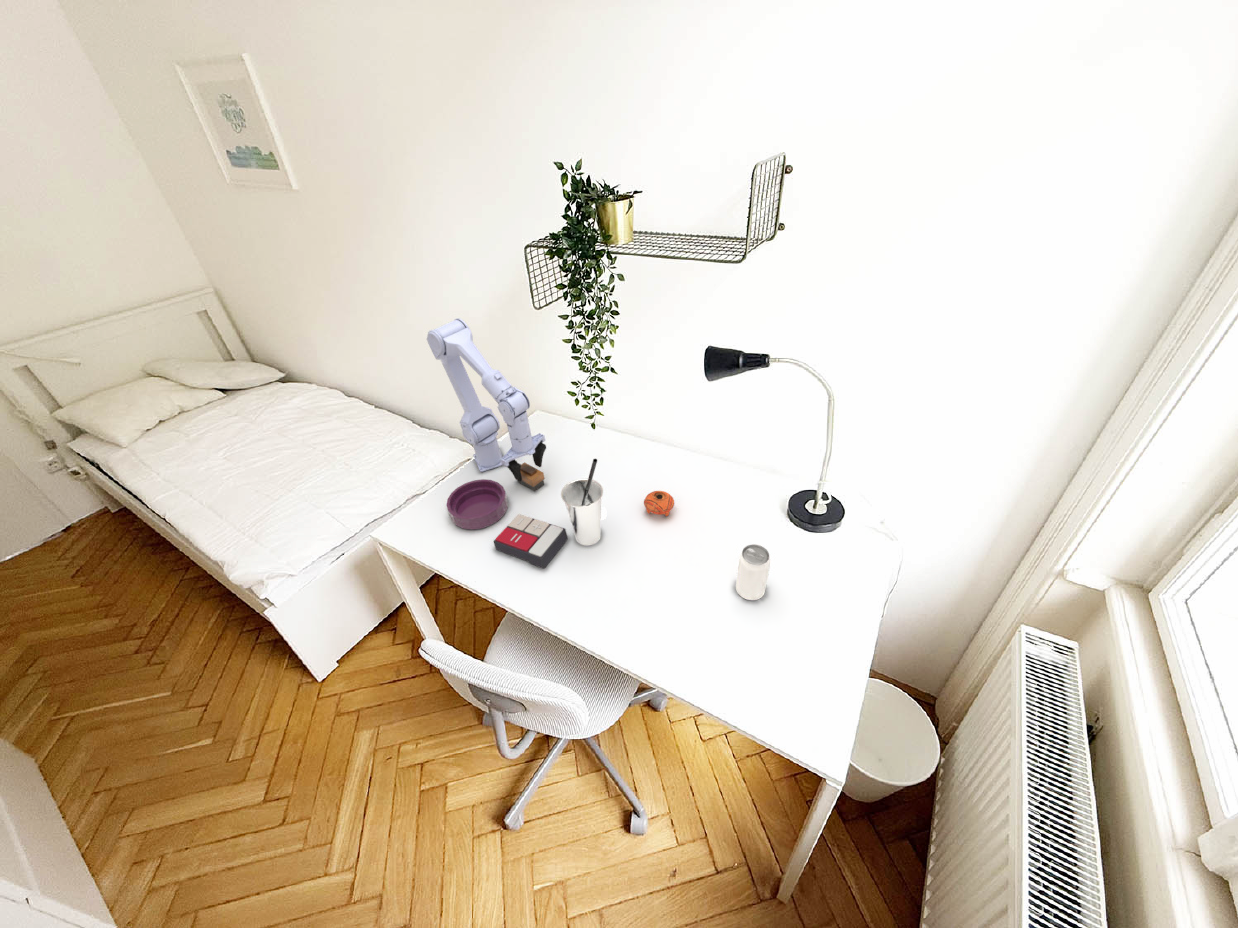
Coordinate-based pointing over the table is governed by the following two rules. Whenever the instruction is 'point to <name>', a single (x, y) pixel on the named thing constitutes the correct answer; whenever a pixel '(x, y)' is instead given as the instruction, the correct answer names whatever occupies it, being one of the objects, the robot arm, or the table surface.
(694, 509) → the table surface
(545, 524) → the calculator
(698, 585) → the table surface
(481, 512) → the bowl
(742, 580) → the can
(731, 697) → the table surface
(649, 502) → the pot
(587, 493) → the metal cup with straw
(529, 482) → the scrub brush
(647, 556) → the table surface
